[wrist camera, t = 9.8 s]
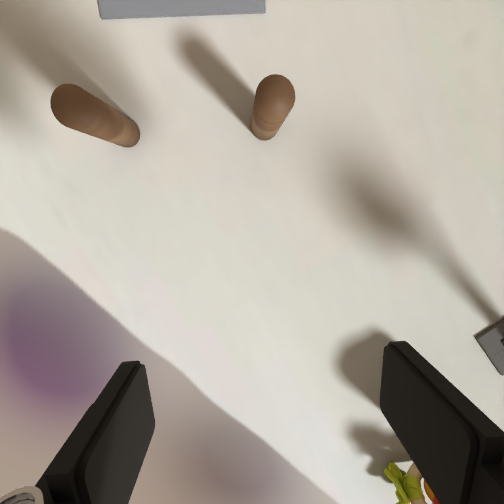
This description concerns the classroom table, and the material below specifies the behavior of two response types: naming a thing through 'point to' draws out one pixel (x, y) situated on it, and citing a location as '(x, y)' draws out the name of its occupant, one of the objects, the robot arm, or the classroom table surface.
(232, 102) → the classroom table surface
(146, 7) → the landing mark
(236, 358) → the classroom table surface
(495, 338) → the miniature traffic light
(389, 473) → the bird rattle
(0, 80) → the classroom table surface
